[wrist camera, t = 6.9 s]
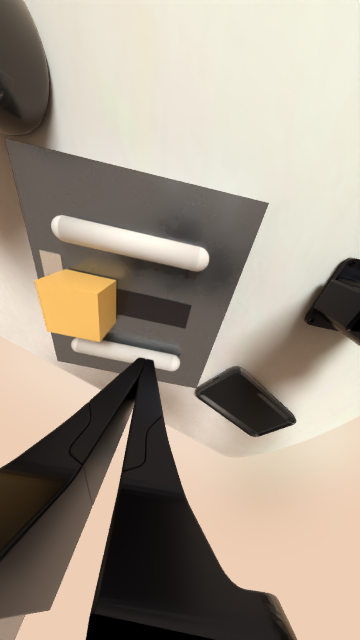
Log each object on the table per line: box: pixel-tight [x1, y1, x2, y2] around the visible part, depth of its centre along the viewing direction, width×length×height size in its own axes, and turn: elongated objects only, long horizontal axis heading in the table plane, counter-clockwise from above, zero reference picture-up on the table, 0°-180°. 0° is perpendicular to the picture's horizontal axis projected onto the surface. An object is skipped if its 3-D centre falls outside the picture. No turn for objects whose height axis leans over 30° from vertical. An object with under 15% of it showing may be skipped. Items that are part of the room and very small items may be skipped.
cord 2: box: [51, 215, 209, 271], centre depth 11 cm, size 11×2×2 cm, turn 79°
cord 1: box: [71, 337, 180, 371], centre depth 16 cm, size 11×2×2 cm, turn 79°
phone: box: [196, 366, 296, 437], centre depth 25 cm, size 8×1×15 cm
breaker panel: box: [5, 138, 269, 388], centre depth 16 cm, size 16×18×3 cm
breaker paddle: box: [34, 269, 116, 342], centre depth 13 cm, size 4×4×3 cm
